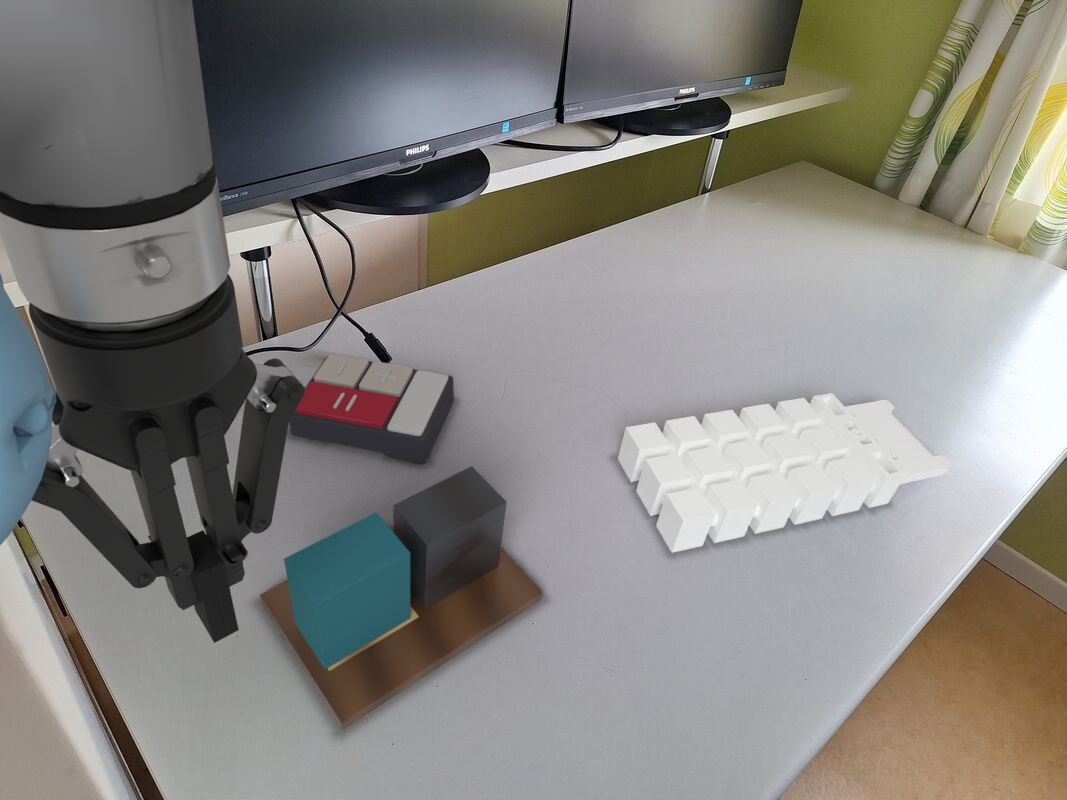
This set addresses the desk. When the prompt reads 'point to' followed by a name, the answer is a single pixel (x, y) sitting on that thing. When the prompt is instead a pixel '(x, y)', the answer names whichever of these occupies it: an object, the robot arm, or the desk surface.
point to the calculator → (374, 407)
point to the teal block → (349, 588)
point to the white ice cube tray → (770, 466)
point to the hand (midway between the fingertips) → (216, 620)
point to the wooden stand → (424, 597)
